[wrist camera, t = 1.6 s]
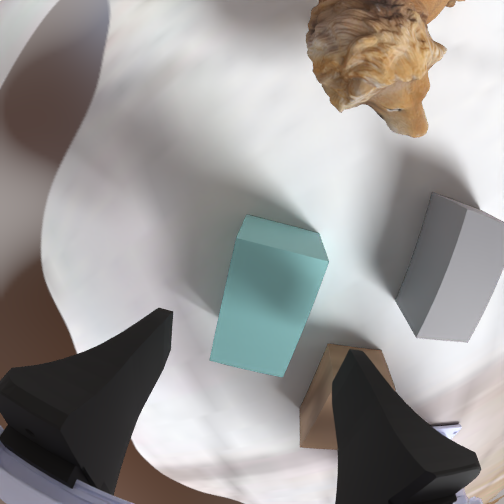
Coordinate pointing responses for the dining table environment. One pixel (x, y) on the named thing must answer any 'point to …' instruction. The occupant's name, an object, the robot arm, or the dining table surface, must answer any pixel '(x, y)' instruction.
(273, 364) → the teal brick
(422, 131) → the lion figurine
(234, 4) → the dining table surface
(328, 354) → the walnut brick
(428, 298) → the gray brick
